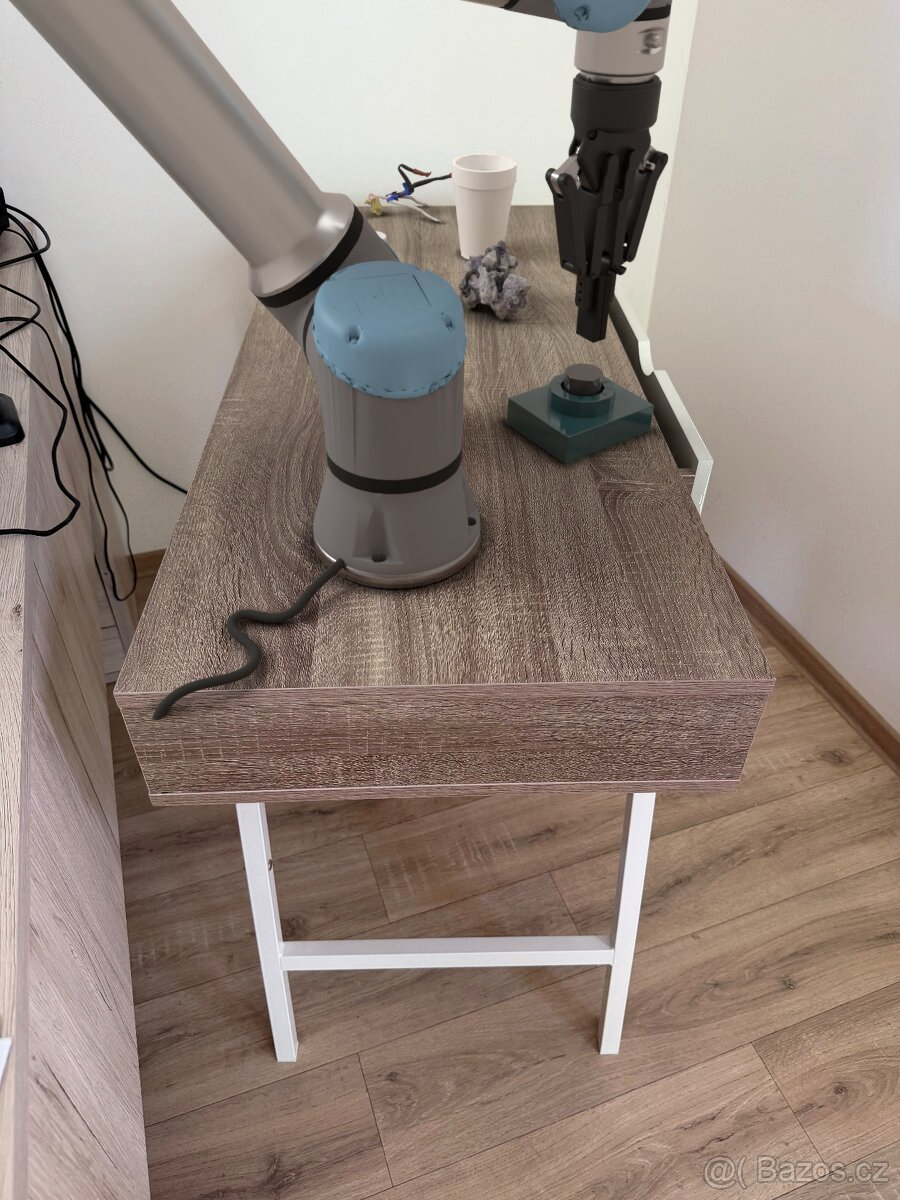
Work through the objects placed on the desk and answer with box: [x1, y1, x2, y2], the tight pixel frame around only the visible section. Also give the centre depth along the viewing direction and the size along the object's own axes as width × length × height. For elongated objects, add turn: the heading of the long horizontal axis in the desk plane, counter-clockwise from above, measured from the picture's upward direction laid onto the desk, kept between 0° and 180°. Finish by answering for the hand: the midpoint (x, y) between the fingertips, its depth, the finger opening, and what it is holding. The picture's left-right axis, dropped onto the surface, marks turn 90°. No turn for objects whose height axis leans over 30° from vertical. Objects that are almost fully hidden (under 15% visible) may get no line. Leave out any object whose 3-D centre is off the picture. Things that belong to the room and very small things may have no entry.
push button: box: [563, 362, 604, 397], centre depth 97 cm, size 4×4×2 cm
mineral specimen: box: [457, 239, 533, 321], centre depth 122 cm, size 12×9×10 cm
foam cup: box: [451, 152, 518, 260], centre depth 135 cm, size 10×9×13 cm
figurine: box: [363, 163, 452, 223], centre depth 153 cm, size 10×9×20 cm
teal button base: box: [506, 372, 655, 465], centre depth 99 cm, size 12×10×5 cm
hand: (590, 335), depth 93 cm, fingers closed
